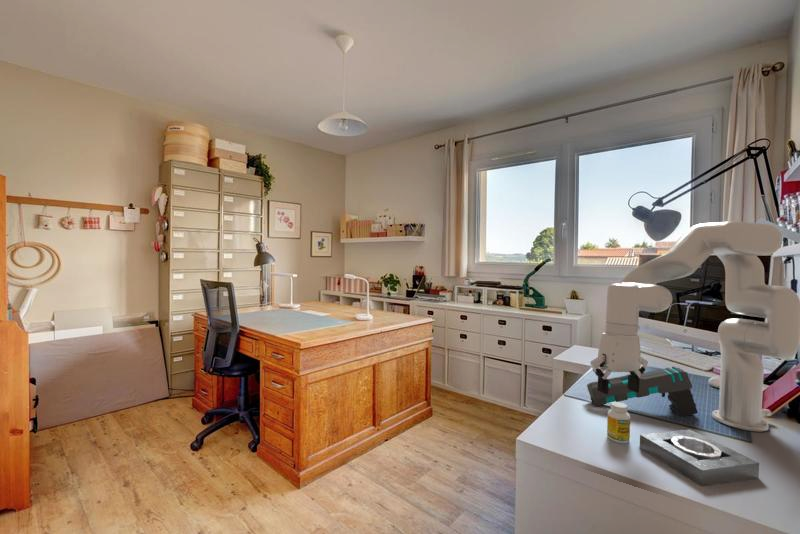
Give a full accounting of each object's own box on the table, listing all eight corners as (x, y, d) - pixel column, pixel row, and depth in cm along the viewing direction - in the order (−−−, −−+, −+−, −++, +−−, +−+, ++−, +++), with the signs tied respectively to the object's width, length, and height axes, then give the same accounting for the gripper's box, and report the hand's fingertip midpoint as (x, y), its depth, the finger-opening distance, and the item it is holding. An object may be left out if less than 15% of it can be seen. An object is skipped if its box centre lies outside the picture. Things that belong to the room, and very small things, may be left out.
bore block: (689, 442, 98) (690, 427, 98) (758, 477, 83) (759, 460, 82) (639, 447, 95) (640, 432, 95) (701, 485, 79) (702, 468, 79)
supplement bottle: (618, 433, 103) (619, 399, 102) (634, 442, 98) (635, 407, 97) (602, 435, 102) (603, 401, 101) (617, 444, 96) (618, 409, 96)
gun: (702, 413, 113) (687, 366, 114) (603, 431, 119) (589, 387, 120) (690, 405, 119) (676, 361, 120) (597, 422, 126) (583, 381, 126)
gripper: (636, 326, 104) (633, 385, 104) (583, 326, 100) (580, 387, 101) (660, 332, 97) (656, 395, 97) (604, 332, 93) (600, 398, 94)
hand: (618, 391), depth 99 cm, fingers open, 9 cm apart
